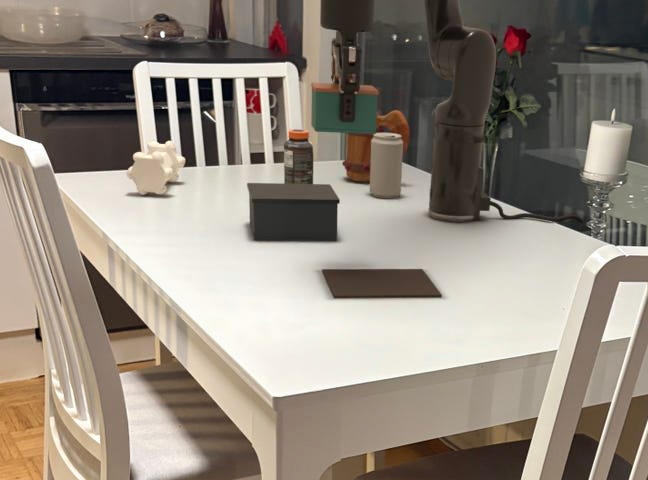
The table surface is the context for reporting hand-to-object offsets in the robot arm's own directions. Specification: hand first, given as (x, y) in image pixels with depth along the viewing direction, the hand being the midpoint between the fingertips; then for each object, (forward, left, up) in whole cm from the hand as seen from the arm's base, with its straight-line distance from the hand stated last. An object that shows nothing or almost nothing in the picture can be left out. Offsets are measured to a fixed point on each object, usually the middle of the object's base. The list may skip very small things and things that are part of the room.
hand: (343, 117), depth 145 cm
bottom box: (+6, -19, -22) cm, 29 cm away
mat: (-4, +11, -22) cm, 25 cm away
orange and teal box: (0, 0, -2) cm, 2 cm away
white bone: (+29, -51, -22) cm, 62 cm away
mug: (-16, -61, -22) cm, 67 cm away
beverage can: (-16, -48, -22) cm, 55 cm away
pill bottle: (+1, -54, -22) cm, 58 cm away
